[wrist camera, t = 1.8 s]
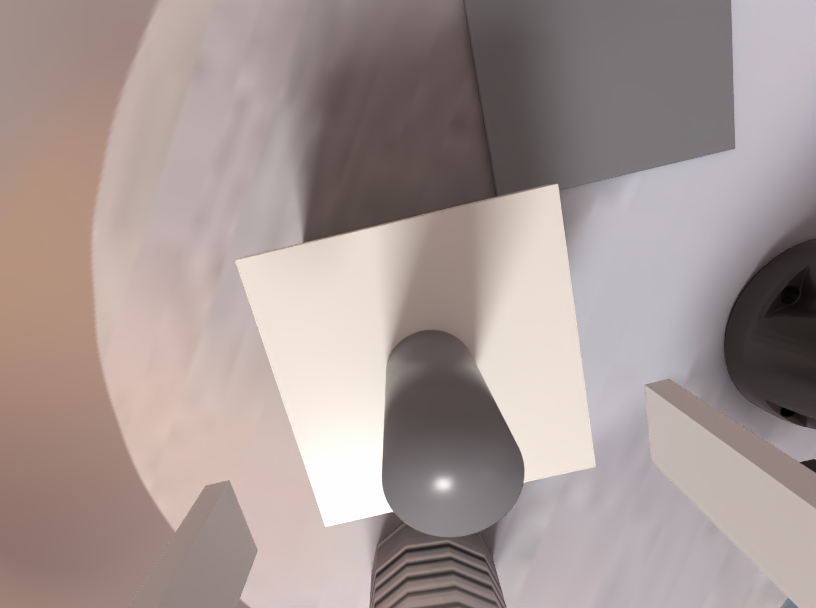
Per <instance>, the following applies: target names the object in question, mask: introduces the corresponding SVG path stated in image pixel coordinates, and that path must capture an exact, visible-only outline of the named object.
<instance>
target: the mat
mask: <svg viewBox="0 0 816 608" xmlns="http://www.w3.org/2000/svg"><path fill="white" fill-rule="evenodd" d="M463 3H464V8H465V14H466V20H467V26H468V32H469V38H470V44H471V50H472V55H473V61H474V67H475V73H476V79H477V85H478V91H479V96H480V102H481V108H482V114H483V120H484V126H485V132H486V137H487V143H488V149H489V155H490V161H491V167H492V173H493V179H494V184H495V190H496V196H502V195H506V194H510V193H514V192H518V191H523V190H527V189H531V188H535V187H540V186H544V185H550V184H558V187H559V190H563V189H567V188H571V187H575V186H579V185H584V184H588V183H592V182H596V181H600V180H605V179H609V178H613V177H617V176H622V175H626V174H630V173H634V172H638V171H643V170H647V169H651V168H655V167H659V166H664V165H668V164H672V163H676V162H681V161H685V160H689V159H693V158H697V157H702V156H706V155H710V154H714V153H719V152H723V151H727V150H731V149H735V130H734V94H733V57H732V21H731V0H463Z"/></svg>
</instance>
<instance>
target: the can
mask: <svg viewBox="0 0 816 608" xmlns="http://www.w3.org/2000/svg"><path fill="white" fill-rule="evenodd" d="M370 608H506V604H505V601H504V597H503V593H502V590H501V586H500V583H499V579H498V576H497V572H496V568H495V565H494V561H493V558H492V556H491V554H490V552H489V550H488V549H487V547H486V545H485V543H484V541H483V539H482V537H481V536H480V534H479V532H477V533H474V534H470V535H466V536H460V537H439V536H433V535H429V534H425V533H422V532H420V531H418V530H415V529H414V528H412V527H410V526H408V525H407V524H406V523H402V524H401V525H400V526H399V527H398V528H396V529H395V530H394V531H393V532H392V533H391V534H389V535H388V536H387V537H386V538H385V539H383V540H382V541H381V542H380V543H379V544H377V549H376V554H375V559H374V565H373V570H372V575H371V591H370Z"/></svg>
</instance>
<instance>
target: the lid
mask: <svg viewBox="0 0 816 608" xmlns="http://www.w3.org/2000/svg"><path fill="white" fill-rule="evenodd" d="M235 262H236V264H237V267H238V270H239V273H240V276H241V279H242V282H243V285H244V288H245V291H246V294H247V297H248V300H249V303H250V306H251V309H252V312H253V315H254V318H255V320H256V323H257V326H258V329H259V332H260V335H261V338H262V341H263V344H264V347H265V350H266V353H267V356H268V359H269V362H270V365H271V368H272V371H273V374H274V376H275V379H276V382H277V385H278V388H279V391H280V394H281V397H282V400H283V403H284V406H285V409H286V412H287V415H288V418H289V421H290V424H291V427H292V429H293V432H294V435H295V438H296V441H297V444H298V447H299V450H300V453H301V456H302V459H303V462H304V465H305V468H306V471H307V474H308V477H309V480H310V483H311V485H312V488H313V491H314V494H315V497H316V500H317V503H318V506H319V509H320V512H321V515H322V518H323V521H324V524H325V527H326V526H331V525H335V524H340V523H344V522H349V521H353V520H358V519H362V518H367V517H371V516H376V515H380V514H385V513H389V512H394V513H395V514H396V515H397V516H398V517H399V518H400V519H401V520H402V521H403V522H404V523H406V524H407V525H408V526H410V527H412V528H414V529H415V530H418V531H420V532H422V533H425V534H429V535H433V536H439V537H460V536H466V535H470V534H474V533H477V532H479V531H482V530H484V529H486V528H488V527H490V526H492V525H493V524H495V523H496V522H498V521H499V520H500V519H501V518H502V517H504V516H505V515H506V514H507V513H508V512H509V510H510V509H511V508H512V507H513V505H514V504H515V502H516V501H517V499H518V497H519V495H520V492H521V490H522V487H523V483H524V482H529V481H533V480H538V479H542V478H547V477H551V476H556V475H560V474H565V473H569V472H574V471H578V470H583V469H587V468H592V467H596V465H595V458H594V450H593V443H592V435H591V428H590V420H589V413H588V405H587V397H586V390H585V382H584V375H583V367H582V360H581V352H580V345H579V337H578V330H577V322H576V315H575V307H574V300H573V292H572V285H571V277H570V269H569V262H568V254H567V247H566V239H565V232H564V224H563V217H562V209H561V202H560V194H559V187H558V184H550V185H544V186H540V187H535V188H531V189H527V190H523V191H518V192H514V193H510V194H506V195H502V196H497V197H493V198H489V199H485V200H481V201H476V202H472V203H468V204H464V205H460V206H455V207H451V208H447V209H443V210H439V211H434V212H430V213H426V214H422V215H417V216H413V217H409V218H405V219H401V220H396V221H392V222H388V223H384V224H380V225H375V226H371V227H367V228H363V229H359V230H354V231H350V232H346V233H342V234H338V235H333V236H329V237H325V238H321V239H316V240H312V241H308V242H304V243H300V244H295V245H291V246H287V247H283V248H279V249H274V250H270V251H266V252H262V253H258V254H253V255H249V256H246V257H243V258H240V259H237V260H235Z"/></svg>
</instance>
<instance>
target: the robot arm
mask: <svg viewBox="0 0 816 608" xmlns="http://www.w3.org/2000/svg"><path fill="white" fill-rule="evenodd" d="M725 360H726V365H727V369H728V372H729V375H730V377H731V379H732V381H733V383H734V385H735V386H736V387H737V389H738V390H739V391H740V393H741V394H742V395H743V396H744V397H745V398H746V399H748V400H749V401H750V402H752V403H753V404H755V405H756V406H758V407H760V408H762V409H764V410H765V411H767V412H769V413H771V414H773V415H774V416H776V417H778V418H780V419H782V420H785V421H787V422H790V423H793V424H796V425H799V426H803V427H808V428H812V429H816V239H813V240H810V241H807V242H804V243H802V244H799V245H797V246H795V247H793V248H791V249H789V250H787V251H786V252H784V253H782V254H781V255H779V256H778V257H776V258H775V259H774V260H772V261H771V262H770V263H769V264H767V265H766V266H765V267H764V268H763V269H762V270H761V271H760V272H759V273H758V274H757V275H756V276H755V277H754V278H753V279H752V280H751V282H750V283H749V284H748V285H747V287H746V288H745V290H744V291H743V292H742V294H741V296H740V297H739V299H738V301H737V303H736V305H735V307H734V309H733V311H732V314H731V316H730V319H729V322H728V326H727V330H726V336H725ZM645 395H646V407H647V418H648V429H649V441H650V452H651V461H652V462H653V463H654V464H655V465H656V466H657V467H658V468H659V469H660V470H661V471H662V472H663V473H664V474H665V475H666V476H667V477H668V478H669V479H670V480H671V481H672V482H673V483H674V484H675V485H676V486H677V487H678V488H679V489H680V490H681V491H682V492H683V493H684V494H685V495H686V496H687V497H688V498H689V499H690V500H691V501H692V502H693V503H694V504H695V505H696V506H697V507H698V508H699V509H700V510H701V511H702V512H703V513H704V514H705V515H706V516H707V517H708V518H709V519H710V520H711V521H712V522H713V523H714V524H715V525H716V526H717V527H718V528H719V529H720V530H721V531H722V532H723V533H724V534H725V535H726V536H727V537H728V538H729V539H730V540H731V541H732V542H733V543H734V544H735V545H736V546H737V547H738V548H739V549H740V550H741V551H742V552H743V553H744V554H745V555H746V556H747V557H748V558H749V559H750V560H751V561H752V562H753V563H754V564H755V565H756V566H757V567H758V568H759V569H760V570H761V571H762V572H763V573H764V574H765V575H766V576H767V577H768V578H769V579H770V580H771V581H772V582H773V583H774V584H775V585H776V586H777V587H778V588H779V589H780V590H781V591H782V592H783V593H784V594H785V595H786V596H787V597H788V599H787V600H786V601H785V603H784V604H783V605H782V606H781V608H816V460H815V459H812V460H808V461H803V462H798V461H796V460H795V459H793V458H792V457H790V456H788V455H787V454H785V453H784V452H782V451H781V450H779V449H777V448H776V447H774V446H773V445H771V444H770V443H768V442H767V441H765V440H763V439H762V438H760V437H759V436H757V435H756V434H754V433H753V432H751V431H749V430H748V429H746V428H745V427H743V426H742V425H740V424H738V423H737V422H735V421H734V420H732V419H731V418H729V417H728V416H726V415H724V414H723V413H721V412H720V411H718V410H717V409H715V408H714V407H712V406H710V405H709V404H707V403H706V402H704V401H703V400H701V399H699V398H698V397H696V396H695V395H693V394H692V393H690V392H689V391H687V390H685V389H684V388H682V387H681V386H679V385H678V384H676V383H675V382H673V381H671V380H670V379H667V380H663V381H659V382H654V383H650V384H646V385H645ZM257 551H258V550H257V548H256V545H255V543H254V540H253V538H252V535H251V533H250V530H249V528H248V525H247V523H246V520H245V518H244V515H243V513H242V510H241V508H240V505H239V503H238V501H237V498H236V496H235V493H234V491H233V488H232V486H231V483H230V481H225V482H220V483H216V484H211V485H207V486H205V487H204V489H203V491H202V492H201V494H200V495H199V497H198V498H197V500H196V502H195V503H194V505H193V506H192V508H191V509H190V511H189V512H188V514H187V516H186V517H185V519H184V520H183V522H182V523H181V525H180V526H179V528H178V530H177V531H176V533H175V534H174V536H173V537H172V539H171V540H170V542H169V544H168V545H167V547H166V549H165V550H164V551H163V553H162V555H161V556H160V558H159V559H158V561H157V563H156V564H155V565H154V567H153V569H152V570H151V572H150V573H149V575H148V576H147V578H146V579H145V581H144V583H143V584H142V586H141V587H140V589H139V590H138V592H137V594H136V595H135V597H134V598H133V600H132V601H131V603H130V604H129V606H128V608H236V607H237V604H238V601H239V599H240V596H241V594H242V591H243V588H244V586H245V583H246V580H247V578H248V575H249V572H250V570H251V567H252V564H253V562H254V559H255V556H256V554H257Z"/></svg>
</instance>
